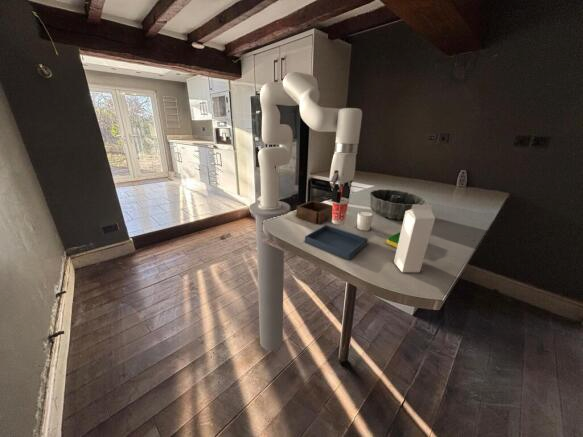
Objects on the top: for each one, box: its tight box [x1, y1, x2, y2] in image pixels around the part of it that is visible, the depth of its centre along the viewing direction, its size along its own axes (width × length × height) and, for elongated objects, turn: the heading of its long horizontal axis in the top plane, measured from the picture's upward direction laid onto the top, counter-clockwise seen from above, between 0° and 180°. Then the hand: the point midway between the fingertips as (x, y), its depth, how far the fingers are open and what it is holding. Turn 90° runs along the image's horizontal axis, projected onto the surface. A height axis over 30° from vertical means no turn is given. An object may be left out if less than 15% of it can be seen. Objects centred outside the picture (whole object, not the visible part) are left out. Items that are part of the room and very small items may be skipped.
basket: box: [295, 200, 333, 225], centre depth 116 cm, size 14×14×6 cm
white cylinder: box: [356, 210, 375, 232], centre depth 104 cm, size 7×7×7 cm
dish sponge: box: [386, 231, 401, 249], centre depth 93 cm, size 7×14×2 cm, turn 128°
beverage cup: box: [331, 185, 350, 226], centre depth 85 cm, size 6×6×14 cm
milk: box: [393, 204, 436, 273], centre depth 73 cm, size 6×6×22 cm
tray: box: [304, 224, 369, 261], centre depth 91 cm, size 19×15×2 cm
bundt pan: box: [369, 189, 426, 221], centre depth 121 cm, size 26×26×10 cm
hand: (340, 199), depth 84 cm, fingers closed on beverage cup, 6 cm apart
